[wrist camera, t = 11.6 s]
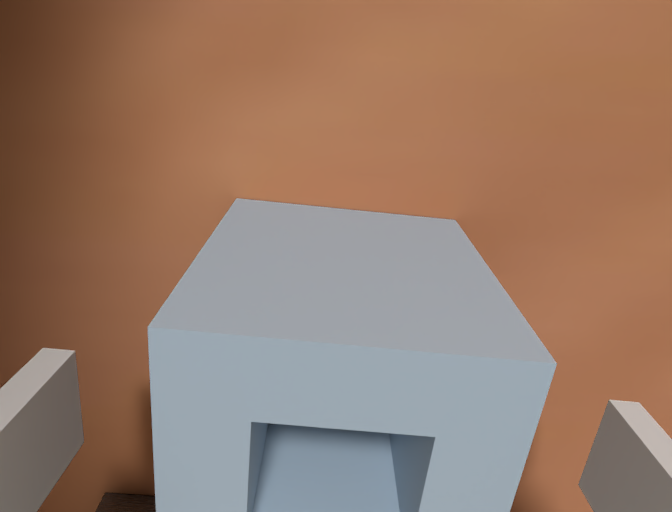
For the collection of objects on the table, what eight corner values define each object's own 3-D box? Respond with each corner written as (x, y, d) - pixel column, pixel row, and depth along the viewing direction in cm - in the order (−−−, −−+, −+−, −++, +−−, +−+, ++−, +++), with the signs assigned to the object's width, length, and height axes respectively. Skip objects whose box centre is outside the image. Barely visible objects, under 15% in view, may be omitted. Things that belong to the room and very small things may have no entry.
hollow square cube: (236, 198, 16) (147, 326, 8) (455, 220, 16) (556, 363, 9) (228, 474, 20) (165, 721, 13) (401, 488, 20) (438, 737, 13)
